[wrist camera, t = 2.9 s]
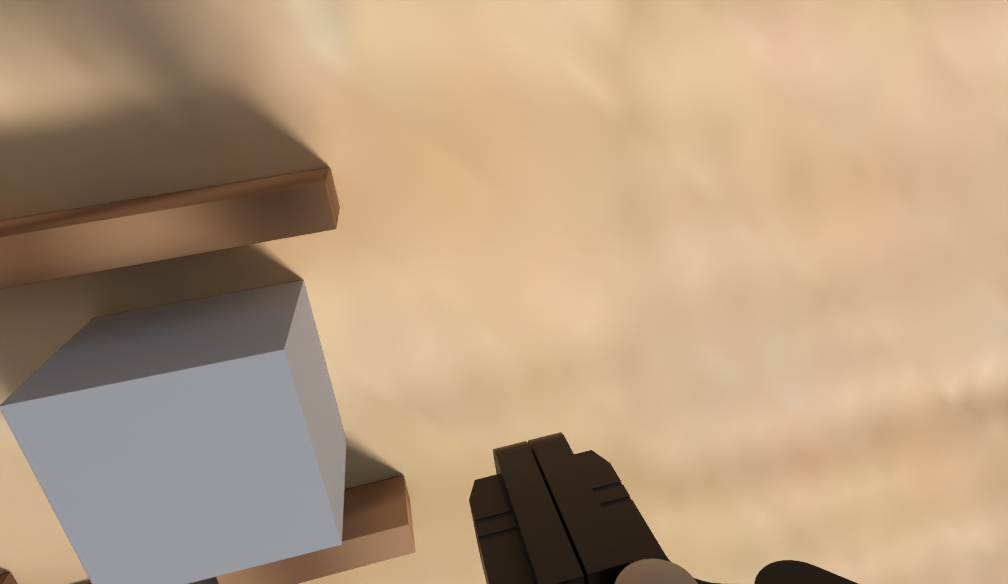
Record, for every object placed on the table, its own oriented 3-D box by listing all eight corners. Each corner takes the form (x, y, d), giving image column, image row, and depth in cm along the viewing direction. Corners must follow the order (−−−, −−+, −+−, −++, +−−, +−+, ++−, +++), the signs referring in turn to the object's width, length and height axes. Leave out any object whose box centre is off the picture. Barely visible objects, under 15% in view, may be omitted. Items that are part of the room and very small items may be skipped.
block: (304, 278, 18) (284, 349, 14) (346, 438, 21) (341, 544, 16) (94, 316, 17) (-2, 406, 13) (163, 479, 20) (103, 605, 15)
